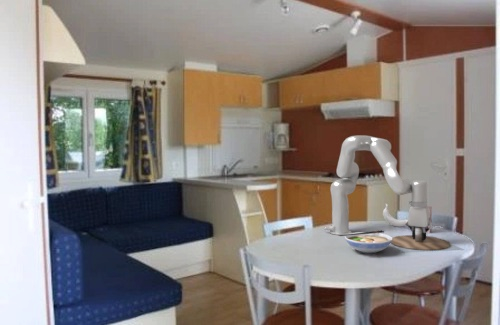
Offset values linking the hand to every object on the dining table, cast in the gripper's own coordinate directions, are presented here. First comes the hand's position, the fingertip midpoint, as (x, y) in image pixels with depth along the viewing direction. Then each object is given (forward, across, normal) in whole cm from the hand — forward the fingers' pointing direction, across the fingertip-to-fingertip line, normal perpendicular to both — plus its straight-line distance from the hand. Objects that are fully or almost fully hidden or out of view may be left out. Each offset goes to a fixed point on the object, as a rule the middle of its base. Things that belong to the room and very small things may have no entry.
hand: (419, 239), depth 225 cm
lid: (+2, 0, 0) cm, 2 cm away
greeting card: (+3, -8, +31) cm, 32 cm away
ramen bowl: (+3, -15, -29) cm, 33 cm away
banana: (+3, -26, +38) cm, 46 cm away
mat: (+3, 0, 0) cm, 3 cm away
